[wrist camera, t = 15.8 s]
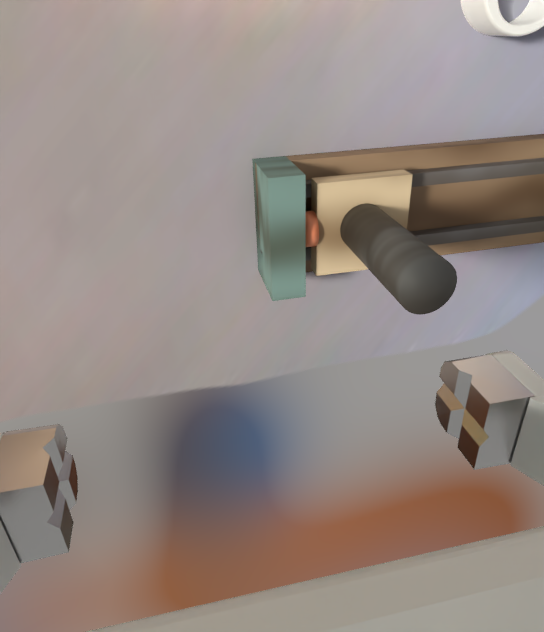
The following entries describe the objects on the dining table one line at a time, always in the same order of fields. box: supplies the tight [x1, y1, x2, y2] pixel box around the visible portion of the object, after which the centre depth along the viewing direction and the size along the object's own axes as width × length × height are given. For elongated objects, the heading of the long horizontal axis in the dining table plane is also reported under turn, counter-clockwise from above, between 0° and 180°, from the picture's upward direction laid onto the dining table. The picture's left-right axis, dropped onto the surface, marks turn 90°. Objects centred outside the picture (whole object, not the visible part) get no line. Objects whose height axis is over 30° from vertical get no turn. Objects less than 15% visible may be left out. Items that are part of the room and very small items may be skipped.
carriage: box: [311, 169, 457, 314], centre depth 33 cm, size 7×7×12 cm
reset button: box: [306, 211, 319, 247], centre depth 37 cm, size 3×1×3 cm, turn 2°
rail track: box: [253, 134, 544, 301], centre depth 39 cm, size 9×28×6 cm, turn 92°
